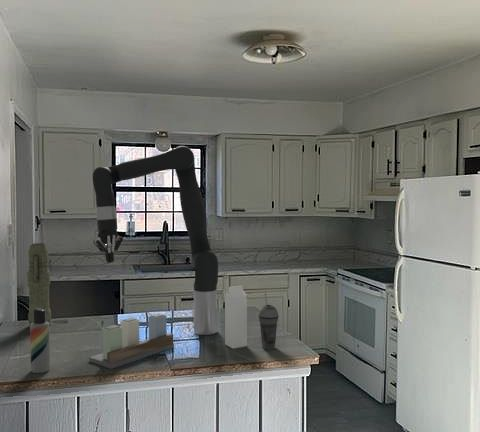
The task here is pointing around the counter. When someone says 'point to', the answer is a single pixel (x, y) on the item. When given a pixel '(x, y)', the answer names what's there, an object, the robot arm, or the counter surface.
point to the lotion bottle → (40, 342)
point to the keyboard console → (134, 352)
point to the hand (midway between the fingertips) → (110, 262)
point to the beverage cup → (268, 325)
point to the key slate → (157, 326)
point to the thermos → (38, 280)
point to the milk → (236, 317)
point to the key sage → (111, 339)
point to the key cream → (130, 331)
